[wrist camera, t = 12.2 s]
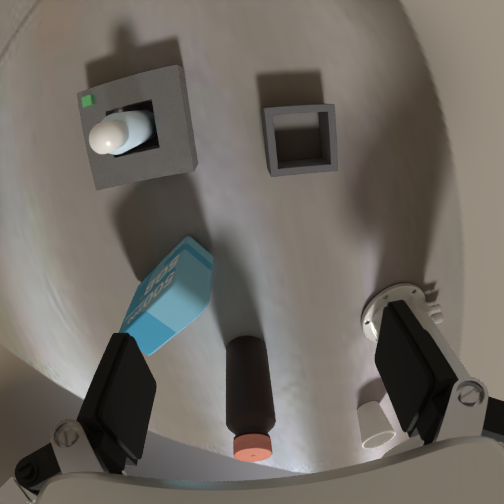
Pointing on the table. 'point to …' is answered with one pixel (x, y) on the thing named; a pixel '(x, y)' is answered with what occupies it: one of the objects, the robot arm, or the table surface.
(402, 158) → the table surface
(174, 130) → the port
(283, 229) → the table surface
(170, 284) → the data package
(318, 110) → the grey open box
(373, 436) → the dixie cup
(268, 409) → the vinegar
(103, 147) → the plug
